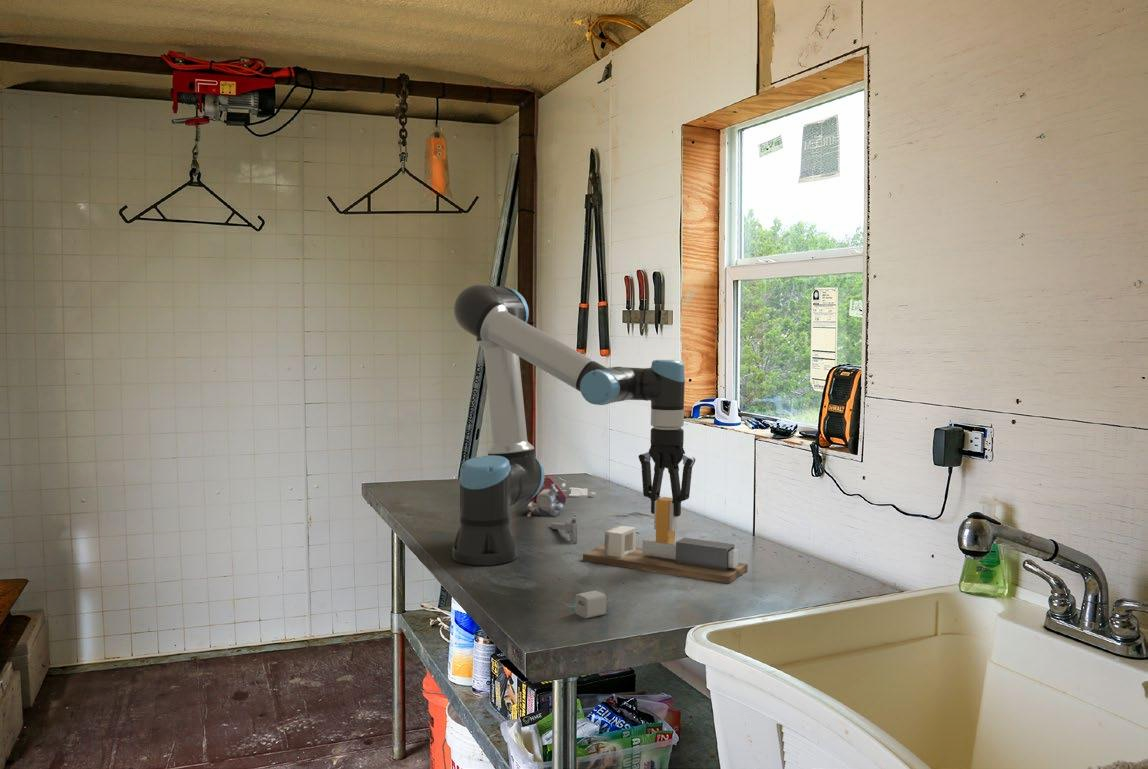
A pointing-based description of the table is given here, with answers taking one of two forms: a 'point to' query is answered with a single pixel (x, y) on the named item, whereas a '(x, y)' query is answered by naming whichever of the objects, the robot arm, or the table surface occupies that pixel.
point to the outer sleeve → (702, 554)
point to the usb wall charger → (591, 604)
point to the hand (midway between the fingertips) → (665, 528)
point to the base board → (663, 565)
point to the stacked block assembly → (671, 537)
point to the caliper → (568, 529)
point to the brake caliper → (547, 500)
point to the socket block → (620, 541)
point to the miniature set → (578, 491)
